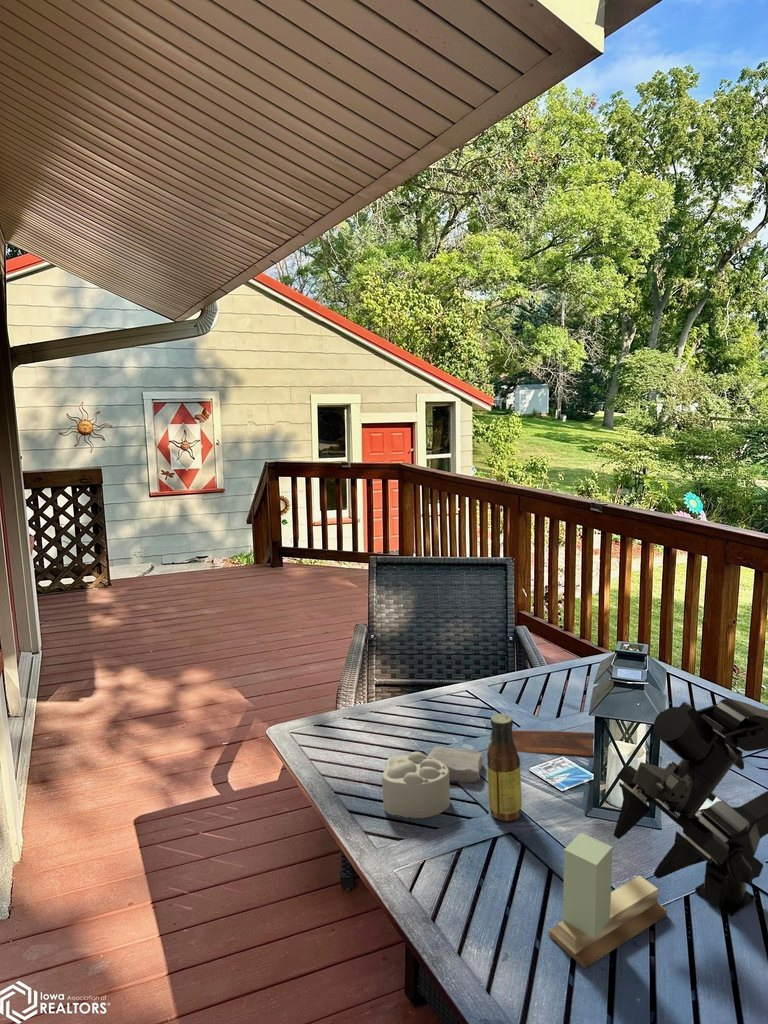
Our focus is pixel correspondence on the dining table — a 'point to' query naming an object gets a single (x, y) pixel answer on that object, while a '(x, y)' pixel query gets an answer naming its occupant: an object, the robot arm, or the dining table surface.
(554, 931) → the birch ridge
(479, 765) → the stone block
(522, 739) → the wooden tablet
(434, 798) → the lumpy-topped squat cylinder
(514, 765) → the sauce bottle
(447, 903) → the dining table surface
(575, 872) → the sage post
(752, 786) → the dining table surface
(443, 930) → the dining table surface
